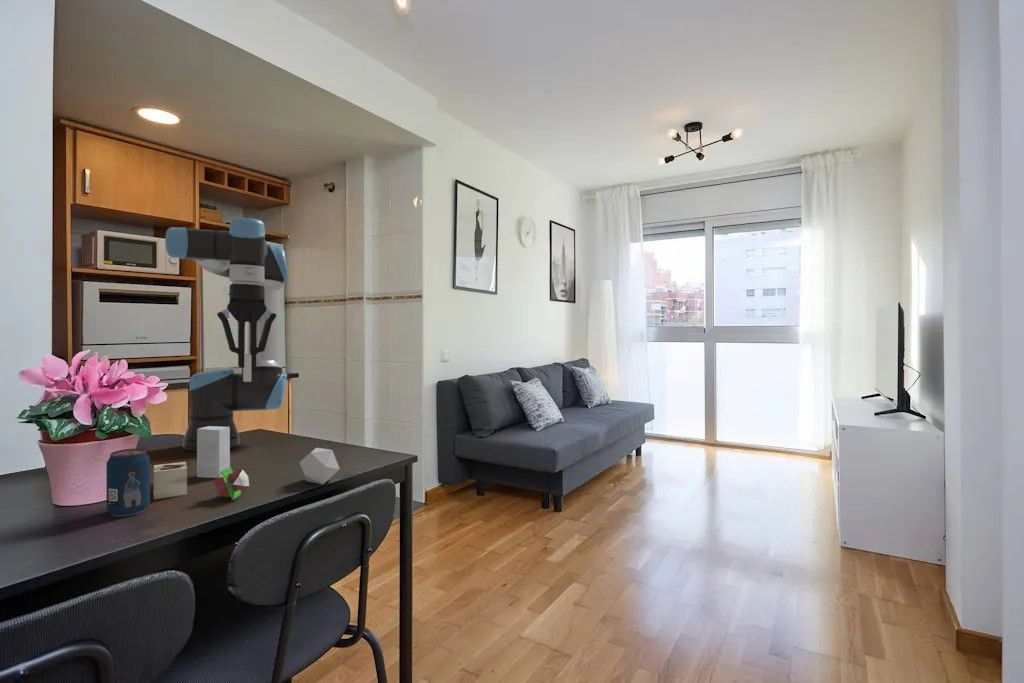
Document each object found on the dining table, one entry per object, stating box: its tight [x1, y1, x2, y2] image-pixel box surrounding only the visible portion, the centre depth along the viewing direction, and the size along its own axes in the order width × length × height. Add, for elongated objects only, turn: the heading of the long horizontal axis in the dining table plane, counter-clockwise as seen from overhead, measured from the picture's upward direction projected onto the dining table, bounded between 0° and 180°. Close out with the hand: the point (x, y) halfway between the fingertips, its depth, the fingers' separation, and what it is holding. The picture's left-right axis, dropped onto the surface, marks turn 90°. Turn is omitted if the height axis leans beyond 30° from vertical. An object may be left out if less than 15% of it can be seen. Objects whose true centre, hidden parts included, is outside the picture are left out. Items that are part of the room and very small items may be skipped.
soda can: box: [105, 448, 151, 518], centre depth 102 cm, size 7×7×12 cm
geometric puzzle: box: [212, 465, 251, 501], centre depth 111 cm, size 7×7×8 cm
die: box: [298, 447, 341, 485], centre depth 123 cm, size 8×9×10 cm
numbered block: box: [153, 461, 188, 500], centre depth 113 cm, size 6×6×6 cm
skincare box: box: [196, 426, 231, 479], centre depth 126 cm, size 6×4×12 cm
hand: (247, 380), depth 124 cm, fingers closed
